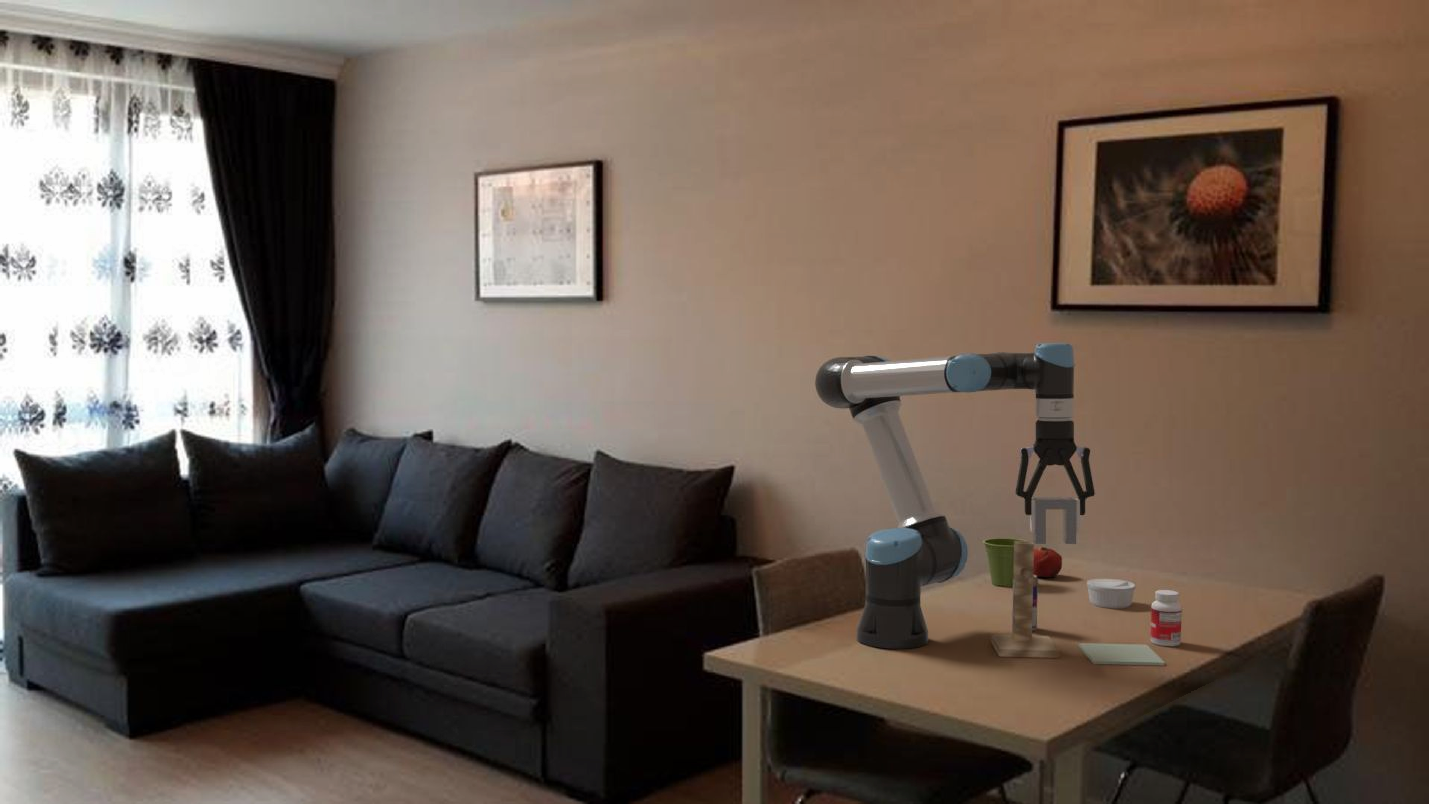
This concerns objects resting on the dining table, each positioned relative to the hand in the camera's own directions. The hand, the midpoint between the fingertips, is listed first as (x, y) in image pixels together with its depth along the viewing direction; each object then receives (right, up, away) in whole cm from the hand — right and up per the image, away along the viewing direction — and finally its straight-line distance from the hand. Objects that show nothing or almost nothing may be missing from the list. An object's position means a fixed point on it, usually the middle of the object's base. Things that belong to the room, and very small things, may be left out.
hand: (1054, 531), depth 259 cm
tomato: (+19, -21, +83) cm, 87 cm away
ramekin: (+27, -23, +50) cm, 61 cm away
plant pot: (+7, -21, +73) cm, 76 cm away
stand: (-4, -26, +6) cm, 27 cm away
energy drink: (0, -25, +25) cm, 35 cm away
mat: (+14, -26, +3) cm, 30 cm away
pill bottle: (+27, -25, +13) cm, 39 cm away
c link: (0, -2, 0) cm, 2 cm away
